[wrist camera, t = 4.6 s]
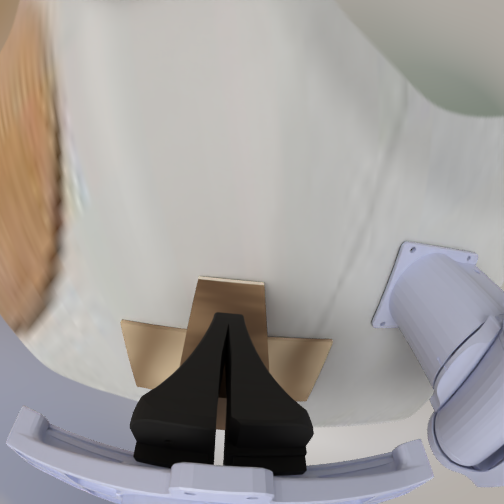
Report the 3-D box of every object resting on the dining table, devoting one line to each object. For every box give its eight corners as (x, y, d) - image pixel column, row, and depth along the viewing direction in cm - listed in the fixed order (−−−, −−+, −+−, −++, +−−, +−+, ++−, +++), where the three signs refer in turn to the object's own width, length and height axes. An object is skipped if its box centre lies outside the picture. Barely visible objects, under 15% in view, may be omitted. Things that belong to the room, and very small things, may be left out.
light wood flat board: (331, 339, 23) (332, 342, 22) (305, 398, 27) (306, 401, 26) (122, 319, 21) (120, 322, 21) (137, 383, 25) (136, 386, 25)
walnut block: (264, 282, 19) (271, 400, 12) (255, 326, 22) (257, 431, 14) (198, 276, 19) (174, 392, 11) (198, 320, 21) (182, 425, 14)
